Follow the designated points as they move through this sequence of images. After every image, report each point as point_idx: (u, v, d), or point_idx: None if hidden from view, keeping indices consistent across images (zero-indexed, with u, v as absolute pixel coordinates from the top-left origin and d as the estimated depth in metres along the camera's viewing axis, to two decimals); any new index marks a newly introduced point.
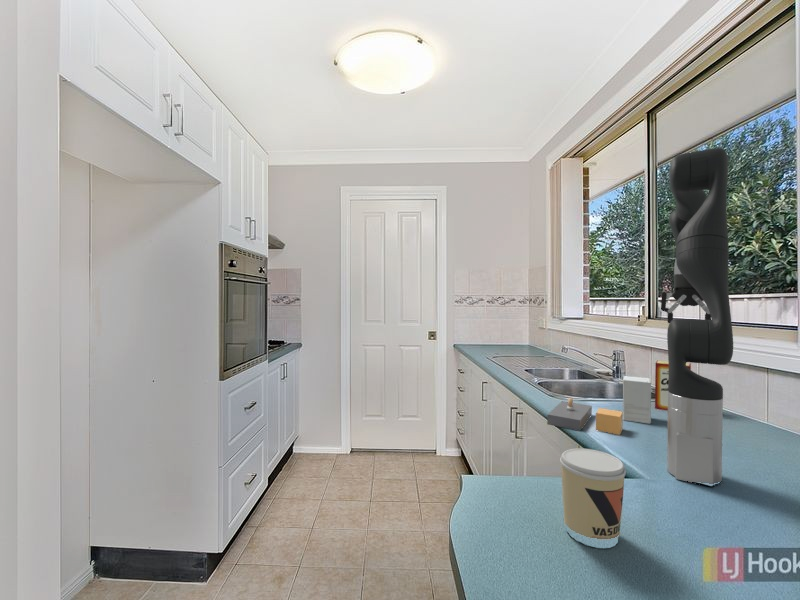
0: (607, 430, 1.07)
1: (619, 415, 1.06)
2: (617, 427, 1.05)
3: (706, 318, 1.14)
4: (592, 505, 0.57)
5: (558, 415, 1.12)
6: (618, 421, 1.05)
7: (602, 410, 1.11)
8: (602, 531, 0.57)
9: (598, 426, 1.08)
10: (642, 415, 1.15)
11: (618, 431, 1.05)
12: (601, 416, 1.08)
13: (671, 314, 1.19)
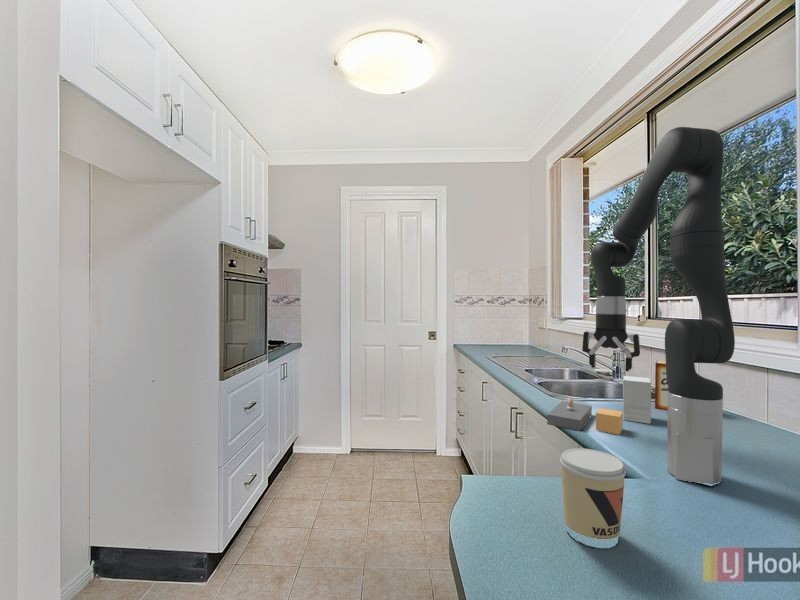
0: (607, 430, 1.07)
1: (619, 415, 1.06)
2: (617, 427, 1.05)
3: (626, 362, 1.06)
4: (592, 505, 0.57)
5: (558, 415, 1.12)
6: (618, 421, 1.05)
7: (602, 410, 1.11)
8: (602, 531, 0.57)
9: (598, 426, 1.08)
10: (642, 415, 1.15)
11: (618, 431, 1.05)
12: (601, 416, 1.08)
13: (592, 356, 1.11)
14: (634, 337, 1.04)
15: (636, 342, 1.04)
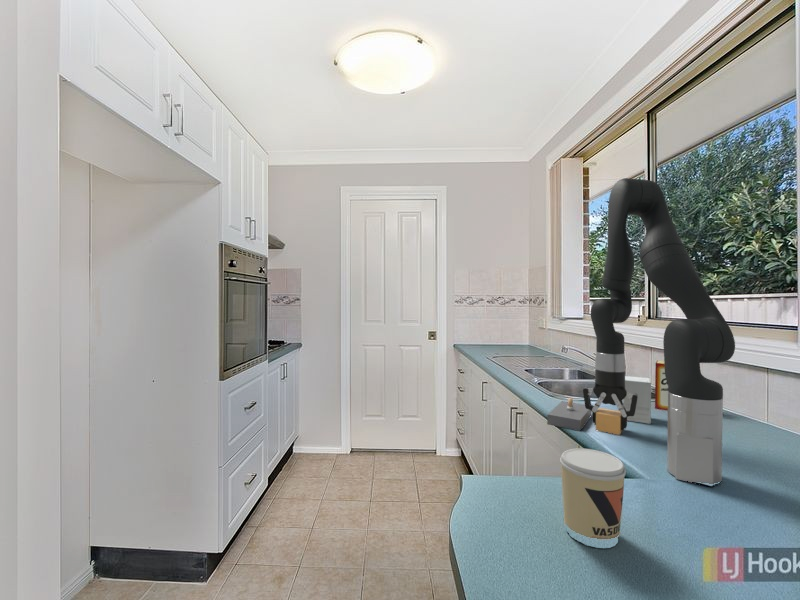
0: (607, 430, 1.07)
1: (619, 415, 1.06)
2: (617, 427, 1.05)
3: (621, 421, 1.06)
4: (592, 505, 0.57)
5: (558, 415, 1.12)
6: (618, 421, 1.05)
7: (602, 410, 1.11)
8: (602, 531, 0.57)
9: (598, 426, 1.08)
10: (642, 415, 1.15)
11: (618, 431, 1.05)
12: (601, 416, 1.08)
13: (595, 414, 1.10)
14: (633, 397, 1.05)
15: (634, 403, 1.05)
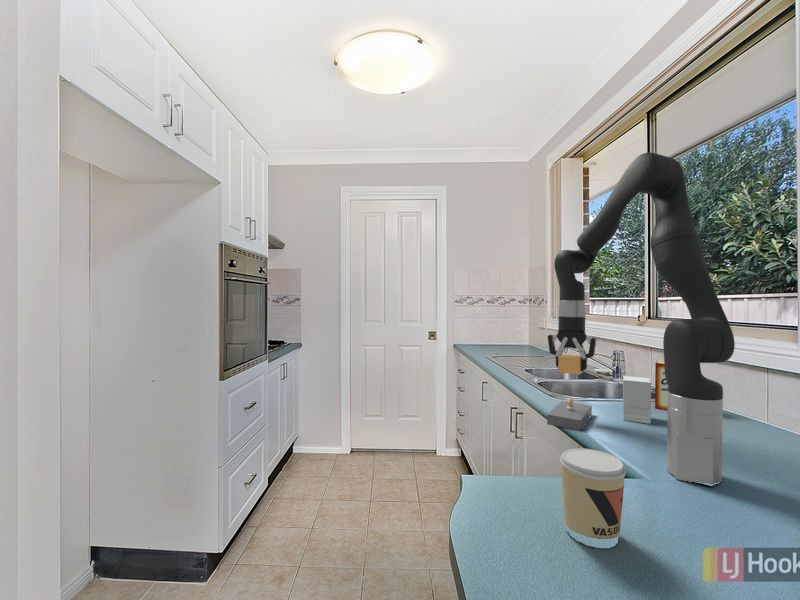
0: (568, 371, 1.16)
1: (579, 357, 1.15)
2: (577, 368, 1.14)
3: (581, 363, 1.15)
4: (592, 505, 0.57)
5: (558, 415, 1.12)
6: (578, 362, 1.14)
7: (565, 355, 1.20)
8: (602, 531, 0.57)
9: (560, 368, 1.17)
10: (642, 415, 1.15)
11: (578, 371, 1.14)
12: (563, 359, 1.16)
13: None
14: (591, 340, 1.13)
15: (592, 345, 1.13)
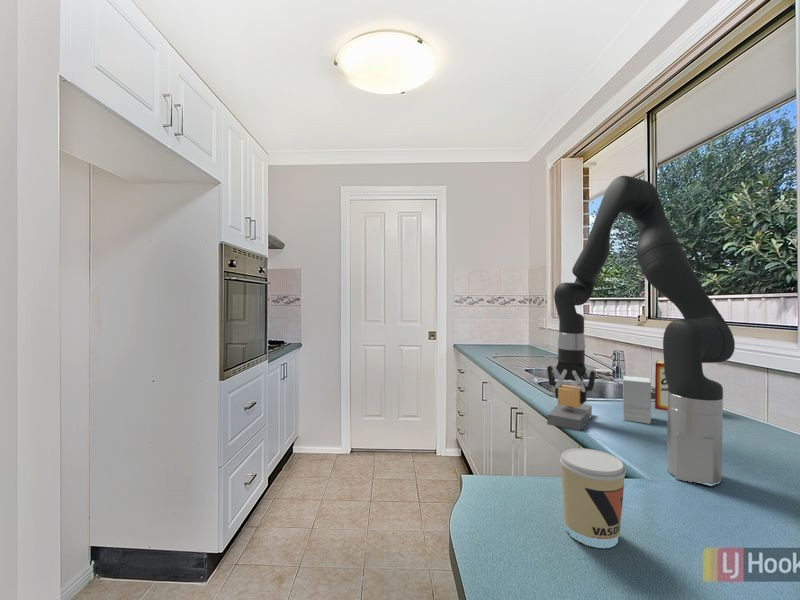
0: (568, 404, 1.16)
1: (579, 390, 1.15)
2: (576, 401, 1.14)
3: (581, 396, 1.15)
4: (592, 505, 0.57)
5: (558, 415, 1.12)
6: (577, 395, 1.14)
7: (564, 386, 1.20)
8: (602, 531, 0.57)
9: (560, 400, 1.17)
10: (642, 415, 1.15)
11: (577, 404, 1.14)
12: (562, 391, 1.17)
13: None
14: (591, 373, 1.13)
15: (592, 378, 1.13)
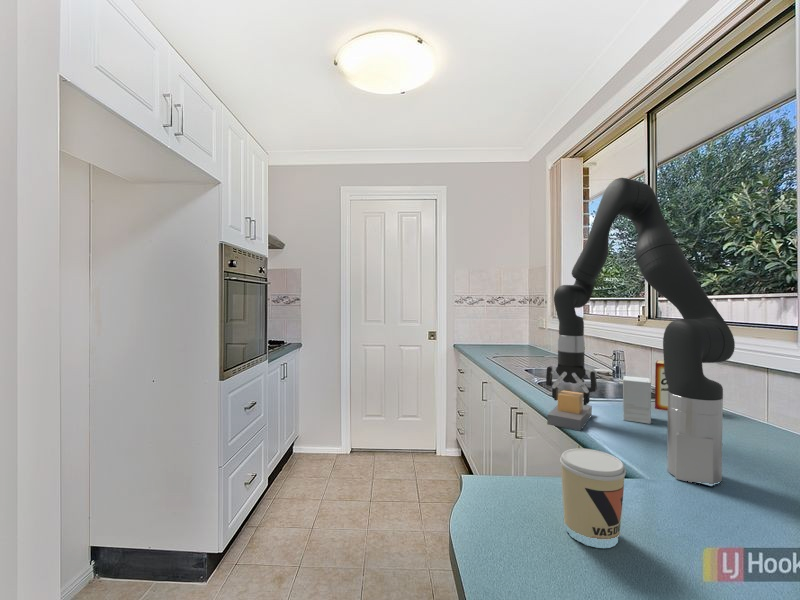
0: (567, 410, 1.16)
1: (578, 396, 1.15)
2: (576, 407, 1.14)
3: (584, 397, 1.15)
4: (592, 505, 0.57)
5: (558, 415, 1.12)
6: (577, 401, 1.14)
7: (564, 392, 1.20)
8: (602, 531, 0.57)
9: (560, 406, 1.17)
10: (642, 415, 1.15)
11: (577, 410, 1.14)
12: (562, 397, 1.16)
13: (555, 389, 1.20)
14: (591, 374, 1.13)
15: (593, 379, 1.13)
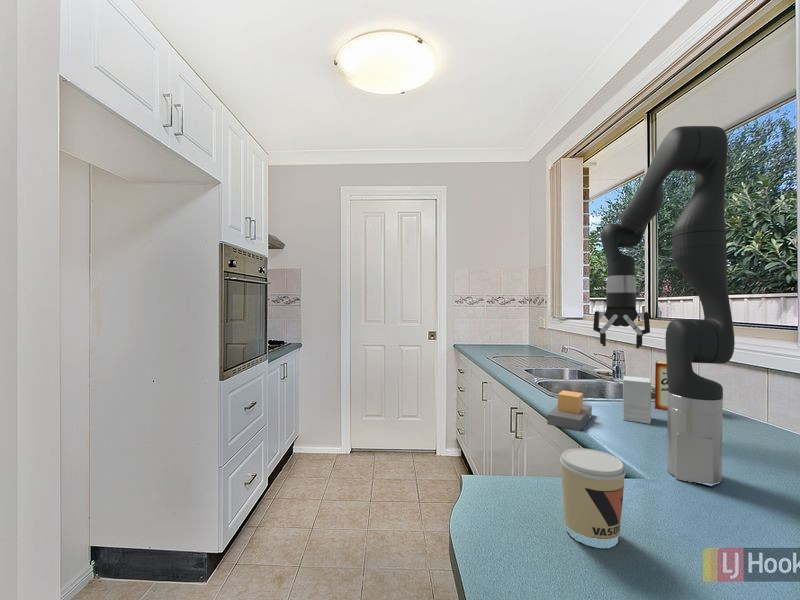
0: (567, 410, 1.16)
1: (578, 396, 1.15)
2: (576, 407, 1.14)
3: (637, 339, 1.08)
4: (592, 505, 0.57)
5: (558, 415, 1.12)
6: (577, 401, 1.14)
7: (564, 392, 1.20)
8: (602, 531, 0.57)
9: (560, 406, 1.17)
10: (642, 415, 1.15)
11: (577, 410, 1.14)
12: (562, 397, 1.16)
13: (603, 335, 1.13)
14: (644, 314, 1.07)
15: (647, 319, 1.07)
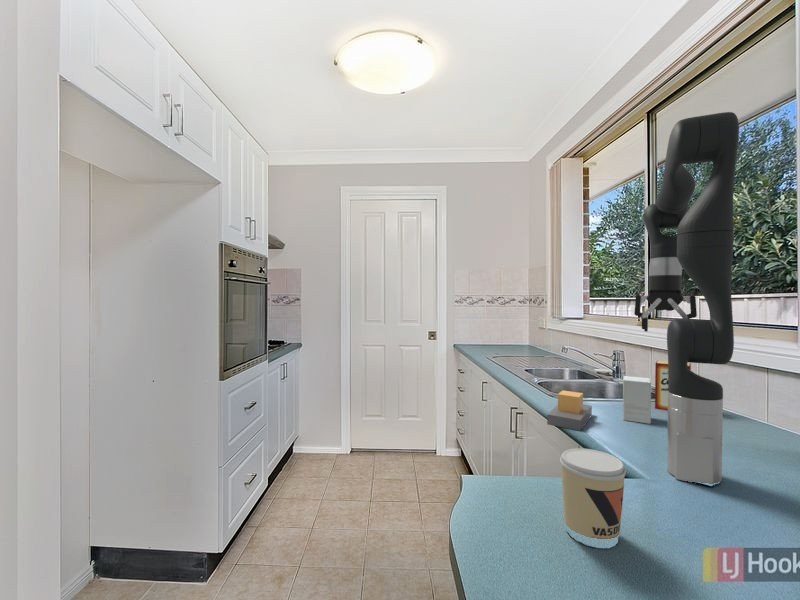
0: (567, 410, 1.16)
1: (578, 396, 1.15)
2: (576, 407, 1.14)
3: None
4: (592, 505, 0.57)
5: (558, 415, 1.12)
6: (577, 401, 1.14)
7: (564, 392, 1.20)
8: (602, 531, 0.57)
9: (560, 406, 1.17)
10: (642, 415, 1.15)
11: (577, 410, 1.14)
12: (562, 397, 1.16)
13: (645, 319, 1.09)
14: (691, 298, 1.03)
15: (693, 303, 1.02)
